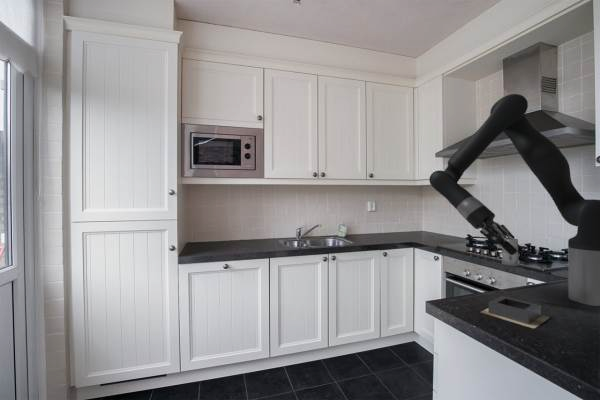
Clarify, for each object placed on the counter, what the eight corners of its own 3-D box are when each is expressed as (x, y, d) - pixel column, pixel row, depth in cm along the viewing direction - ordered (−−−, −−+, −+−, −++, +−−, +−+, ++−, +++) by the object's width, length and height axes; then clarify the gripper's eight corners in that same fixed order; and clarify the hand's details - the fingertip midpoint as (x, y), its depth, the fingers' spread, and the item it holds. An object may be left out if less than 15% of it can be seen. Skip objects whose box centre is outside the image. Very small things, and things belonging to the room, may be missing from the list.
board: (498, 306, 83) (498, 303, 83) (550, 321, 73) (550, 317, 73) (480, 315, 77) (480, 312, 77) (534, 332, 67) (534, 328, 67)
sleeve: (502, 305, 81) (502, 295, 81) (540, 316, 74) (540, 305, 74) (488, 312, 76) (488, 301, 76) (528, 324, 69) (528, 312, 69)
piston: (505, 262, 89) (505, 237, 89) (520, 264, 85) (520, 239, 85) (500, 263, 86) (499, 238, 86) (515, 266, 83) (514, 240, 83)
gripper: (473, 205, 88) (519, 247, 78) (492, 204, 96) (536, 243, 86) (456, 220, 93) (498, 262, 82) (476, 218, 100) (516, 257, 90)
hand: (517, 252), depth 84 cm, fingers closed on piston, 4 cm apart
